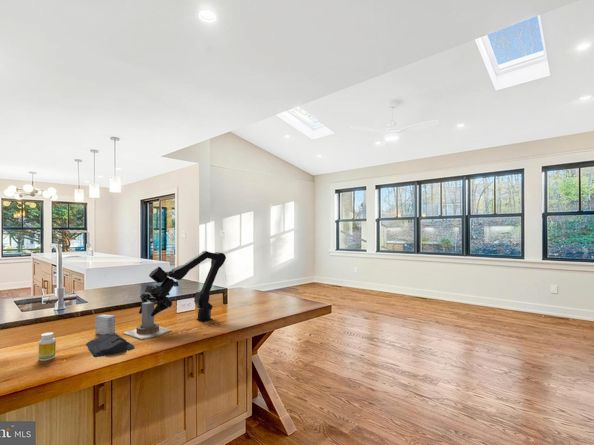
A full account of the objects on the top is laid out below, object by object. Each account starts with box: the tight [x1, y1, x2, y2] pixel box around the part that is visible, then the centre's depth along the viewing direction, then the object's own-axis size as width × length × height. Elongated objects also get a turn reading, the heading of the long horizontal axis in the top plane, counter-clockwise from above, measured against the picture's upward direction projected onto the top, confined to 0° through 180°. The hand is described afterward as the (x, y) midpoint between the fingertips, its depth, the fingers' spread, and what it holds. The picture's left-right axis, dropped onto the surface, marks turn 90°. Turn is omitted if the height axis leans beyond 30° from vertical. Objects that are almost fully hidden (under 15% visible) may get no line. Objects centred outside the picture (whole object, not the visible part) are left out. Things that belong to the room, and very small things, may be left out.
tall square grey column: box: [141, 302, 155, 328], centre depth 161 cm, size 4×4×14 cm
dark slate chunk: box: [85, 333, 135, 358], centre depth 142 cm, size 15×22×5 cm
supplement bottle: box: [37, 332, 57, 362], centre depth 128 cm, size 5×5×10 cm
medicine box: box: [94, 314, 116, 336], centre depth 159 cm, size 8×4×9 cm, turn 74°
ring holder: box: [122, 322, 173, 341], centre depth 161 cm, size 16×16×3 cm
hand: (145, 314), depth 160 cm, fingers open, 9 cm apart
